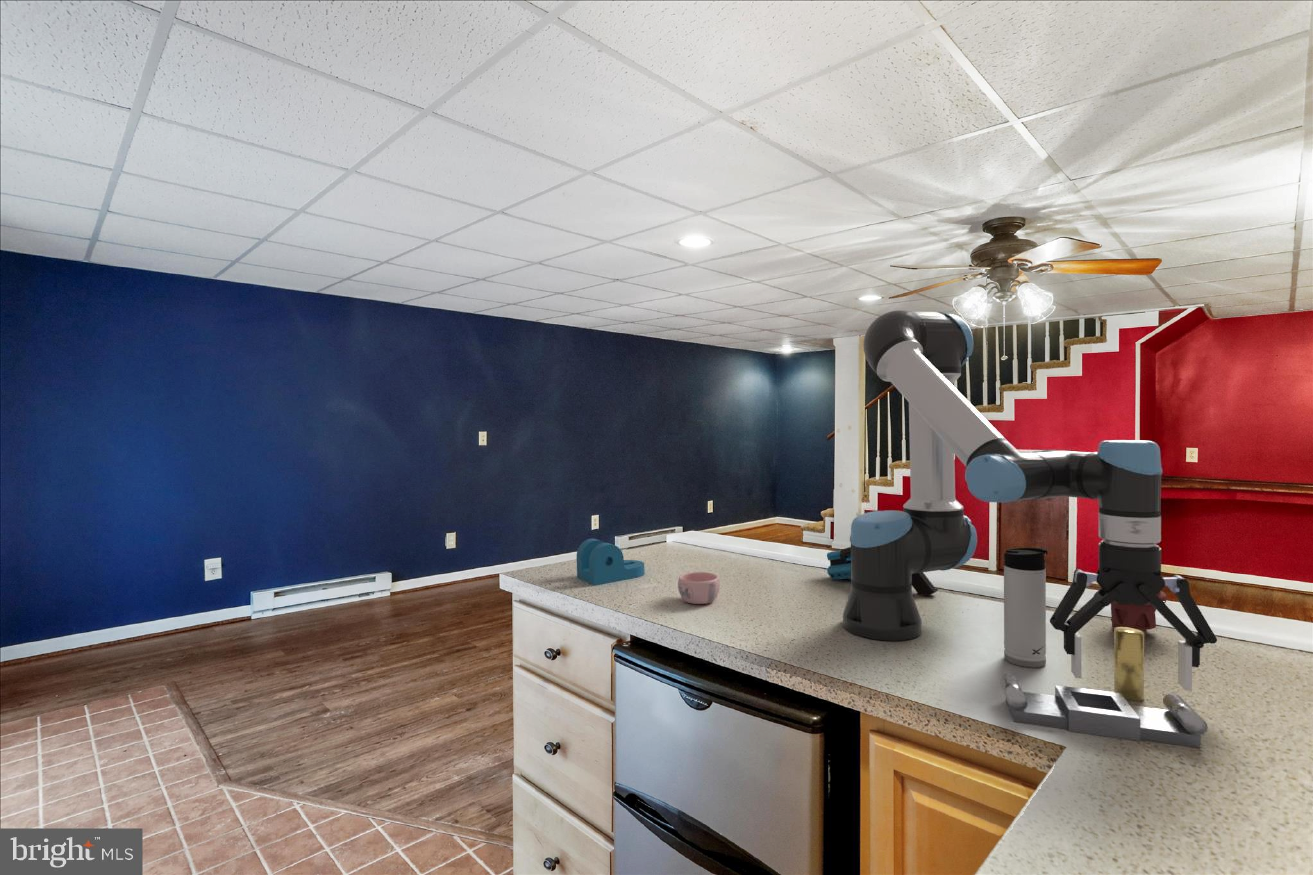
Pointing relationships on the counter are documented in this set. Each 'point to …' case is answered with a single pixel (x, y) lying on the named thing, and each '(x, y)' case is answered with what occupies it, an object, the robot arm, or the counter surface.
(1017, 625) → the travel mug
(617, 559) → the camera mount
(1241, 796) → the counter surface
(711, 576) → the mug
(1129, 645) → the pin
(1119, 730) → the square socket base
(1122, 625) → the mechanical component
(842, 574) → the gun
